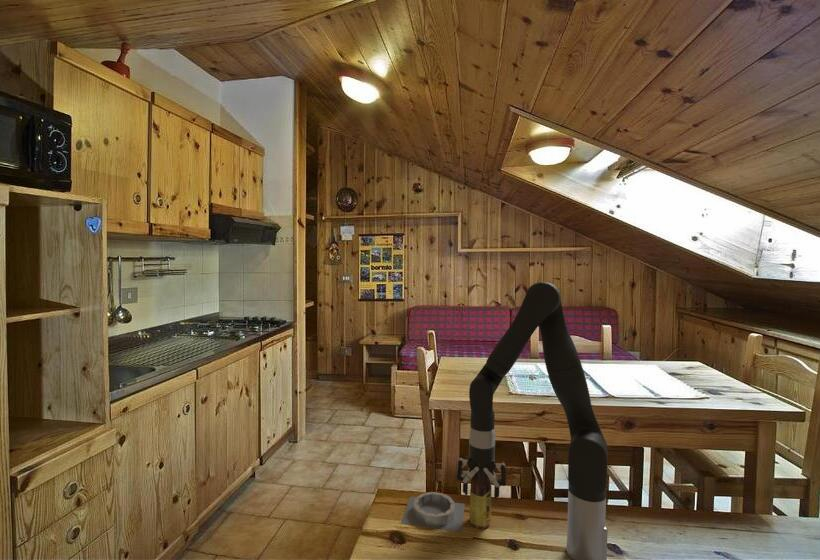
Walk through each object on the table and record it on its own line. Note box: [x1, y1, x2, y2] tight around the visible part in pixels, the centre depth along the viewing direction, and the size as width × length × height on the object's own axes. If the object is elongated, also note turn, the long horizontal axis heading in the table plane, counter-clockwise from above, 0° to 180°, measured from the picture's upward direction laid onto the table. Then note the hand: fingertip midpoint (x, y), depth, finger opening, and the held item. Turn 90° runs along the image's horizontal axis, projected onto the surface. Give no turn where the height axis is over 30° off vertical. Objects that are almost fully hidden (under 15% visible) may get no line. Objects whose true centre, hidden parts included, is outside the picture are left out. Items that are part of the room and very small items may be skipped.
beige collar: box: [413, 491, 456, 527], centre depth 120 cm, size 12×12×3 cm
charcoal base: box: [400, 496, 466, 534], centre depth 120 cm, size 18×14×1 cm
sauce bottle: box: [469, 462, 492, 530], centre depth 116 cm, size 7×6×20 cm
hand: (480, 495), depth 117 cm, fingers open, 8 cm apart
